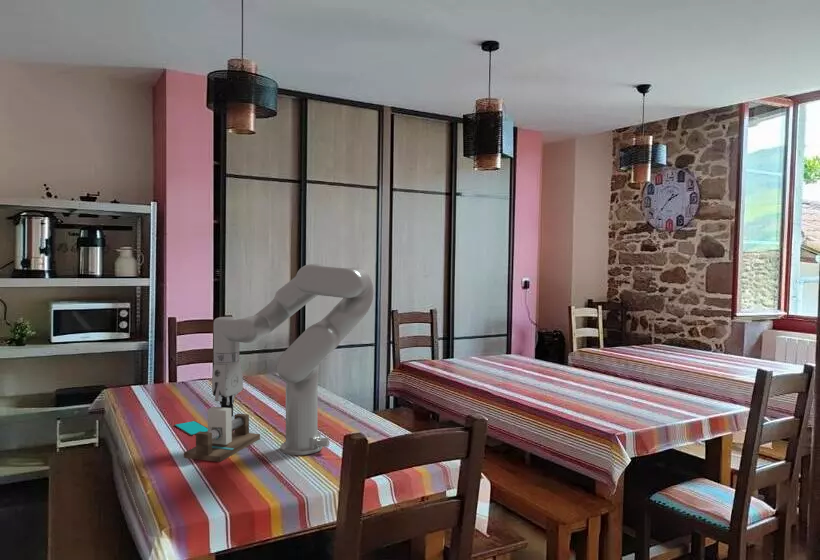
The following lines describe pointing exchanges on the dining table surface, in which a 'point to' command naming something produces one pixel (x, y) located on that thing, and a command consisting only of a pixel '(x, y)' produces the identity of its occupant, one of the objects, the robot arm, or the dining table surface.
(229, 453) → the pipe rig
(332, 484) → the dining table surface
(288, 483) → the dining table surface
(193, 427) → the smartphone
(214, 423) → the collar
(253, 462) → the dining table surface
